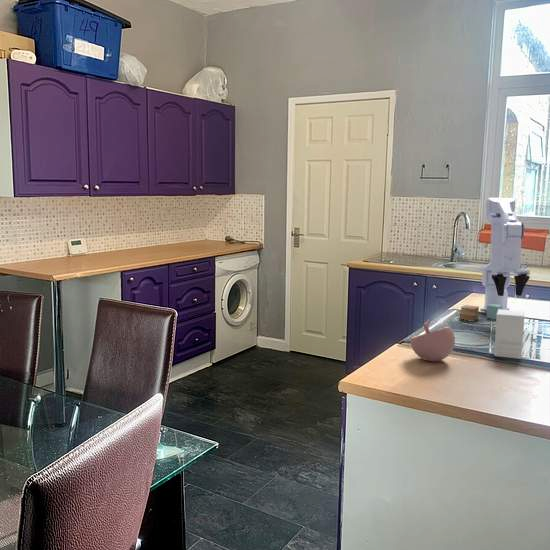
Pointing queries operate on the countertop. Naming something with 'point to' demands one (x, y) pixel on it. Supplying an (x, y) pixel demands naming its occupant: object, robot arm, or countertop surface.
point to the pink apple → (433, 343)
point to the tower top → (470, 310)
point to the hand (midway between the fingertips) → (509, 295)
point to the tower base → (468, 317)
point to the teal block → (493, 310)
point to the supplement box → (509, 333)
